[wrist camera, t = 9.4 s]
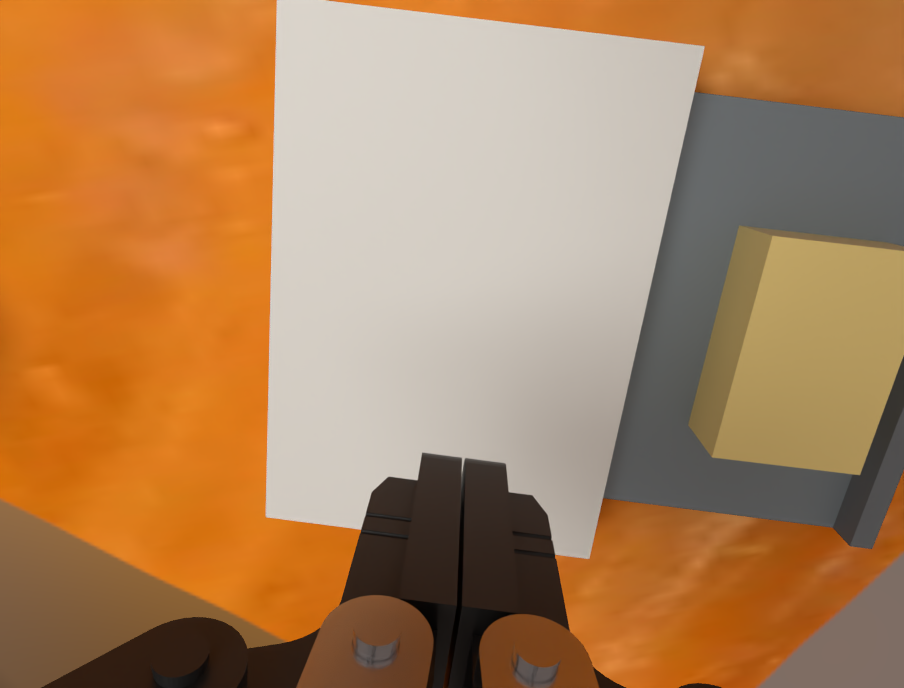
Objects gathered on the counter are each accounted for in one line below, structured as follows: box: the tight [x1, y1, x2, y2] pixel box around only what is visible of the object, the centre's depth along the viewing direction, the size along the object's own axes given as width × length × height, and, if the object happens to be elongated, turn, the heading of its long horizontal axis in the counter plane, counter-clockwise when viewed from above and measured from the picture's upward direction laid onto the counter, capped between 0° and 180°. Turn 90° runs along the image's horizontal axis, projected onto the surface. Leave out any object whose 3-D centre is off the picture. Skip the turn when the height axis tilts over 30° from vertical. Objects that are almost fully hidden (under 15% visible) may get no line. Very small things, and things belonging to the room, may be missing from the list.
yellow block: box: [688, 226, 904, 475], centre depth 25 cm, size 9×6×3 cm, turn 174°
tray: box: [603, 92, 904, 549], centre depth 26 cm, size 18×12×2 cm, turn 173°
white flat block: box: [266, 0, 705, 559], centre depth 25 cm, size 20×14×4 cm
